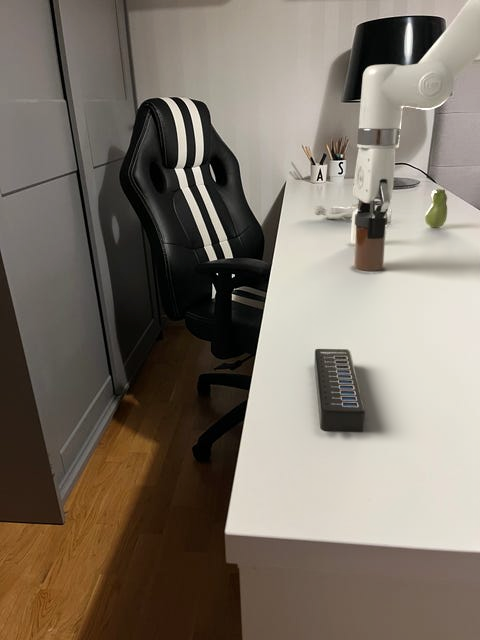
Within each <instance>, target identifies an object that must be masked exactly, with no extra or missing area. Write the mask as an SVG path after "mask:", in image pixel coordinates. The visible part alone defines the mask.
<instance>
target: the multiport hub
mask: <svg viewBox="0 0 480 640" xmlns="http://www.w3.org/2000/svg"><path fill="white" fill-rule="evenodd" d="M313 363H314V365H313V366H314V367H313V368H314V376H315V388H316V395H317V396H316V399H317V407H318V408H317V409H318V419H319V428H320V430H321V431H325V432H327V431H328V432H353V433H357V432H358V433H362V432H363V431H364V429H365V428H364V427H365V419H366V418H365V417H366V409H365V404H364V401H363V396H362V392H361V388H360V385H359V381H358V376H357V373H356V368H355V365H354V364H355V363H354V360H353V356H352V352H351V350H350V349H347V348H346V349H345V348H316V349H314V362H313Z"/></svg>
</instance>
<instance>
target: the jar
mask: <svg viewBox="0 0 480 640" xmlns="http://www.w3.org/2000/svg"><path fill="white" fill-rule="evenodd" d="M367 229H368V228H367V227H359V226H356V235H355V245H354V261H353V263H354V264H353V267H354V268H355V269H356V270H359V271H364V272H374V271H375V272H376V271H380V270H382V269H384V265H385V263H384V262H385V246H386V234H387V233H386V232H387V225H386V226H385V230H384V237H383V238H382V239H368V238H367Z"/></svg>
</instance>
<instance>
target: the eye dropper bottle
mask: <svg viewBox="0 0 480 640" xmlns="http://www.w3.org/2000/svg"><path fill="white" fill-rule="evenodd" d="M358 211H360V210H358V209H357V210H355V211H354V212H353V214H352V219H351V229H350V243H351V244H352V245H354V246H355V235H356V225H355V215H356V214H357V212H358Z"/></svg>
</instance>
